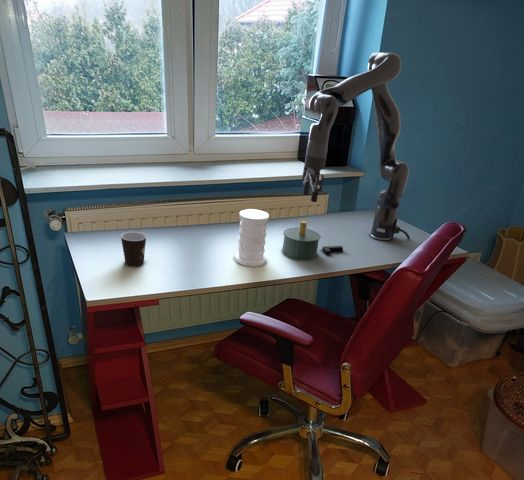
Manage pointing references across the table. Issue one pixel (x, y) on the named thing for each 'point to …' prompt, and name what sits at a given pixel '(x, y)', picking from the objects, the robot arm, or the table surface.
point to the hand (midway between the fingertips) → (309, 198)
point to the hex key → (332, 249)
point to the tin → (299, 249)
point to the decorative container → (252, 237)
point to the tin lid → (301, 233)
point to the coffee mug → (133, 248)
